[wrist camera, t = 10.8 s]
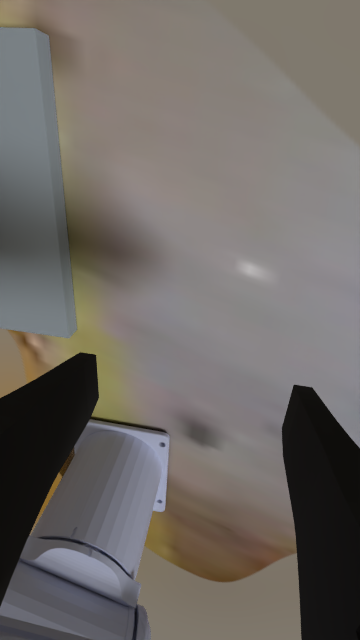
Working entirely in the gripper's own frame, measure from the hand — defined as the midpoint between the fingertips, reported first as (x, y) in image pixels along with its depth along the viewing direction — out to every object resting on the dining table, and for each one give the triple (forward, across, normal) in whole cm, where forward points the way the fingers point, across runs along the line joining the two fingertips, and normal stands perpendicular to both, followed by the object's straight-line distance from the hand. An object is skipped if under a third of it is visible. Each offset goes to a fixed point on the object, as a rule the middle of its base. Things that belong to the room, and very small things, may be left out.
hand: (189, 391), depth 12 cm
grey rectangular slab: (+9, +16, -4) cm, 19 cm away
